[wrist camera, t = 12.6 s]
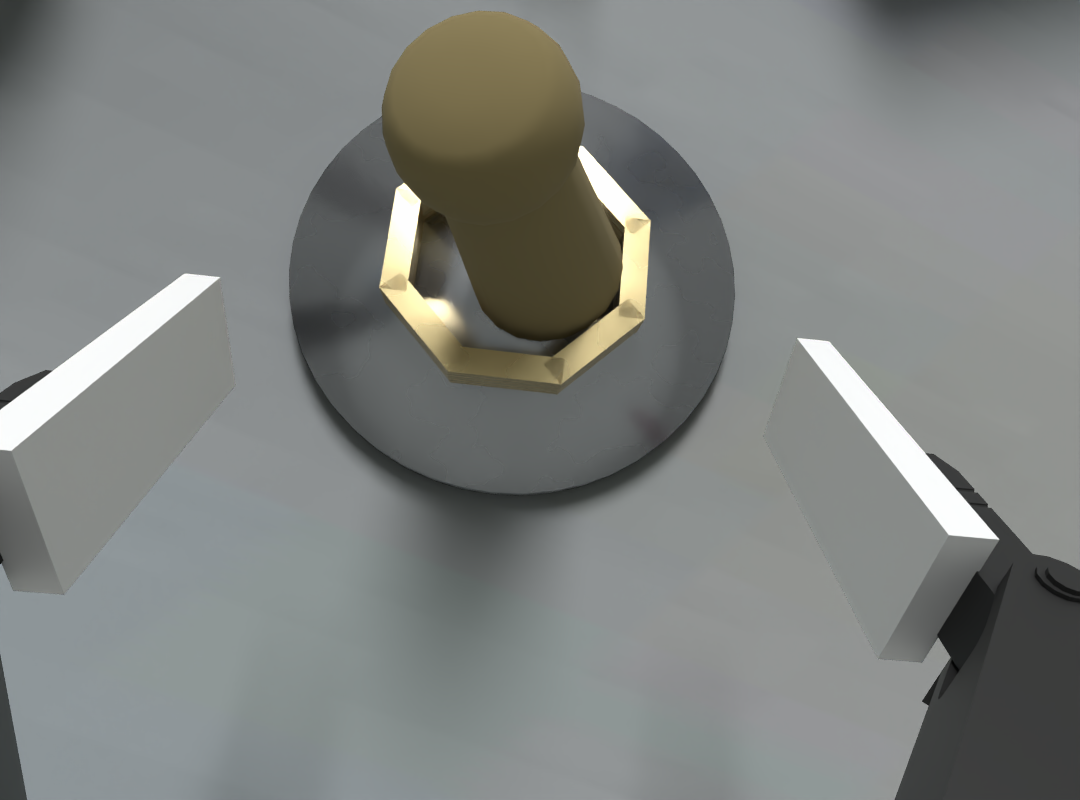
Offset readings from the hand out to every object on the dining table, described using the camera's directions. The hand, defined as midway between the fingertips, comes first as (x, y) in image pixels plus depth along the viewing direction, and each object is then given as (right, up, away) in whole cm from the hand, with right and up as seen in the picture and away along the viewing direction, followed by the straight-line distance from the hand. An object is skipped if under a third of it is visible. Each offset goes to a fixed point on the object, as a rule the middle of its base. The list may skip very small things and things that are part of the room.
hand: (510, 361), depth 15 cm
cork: (+1, +4, +11) cm, 12 cm away
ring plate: (0, +4, +12) cm, 13 cm away
